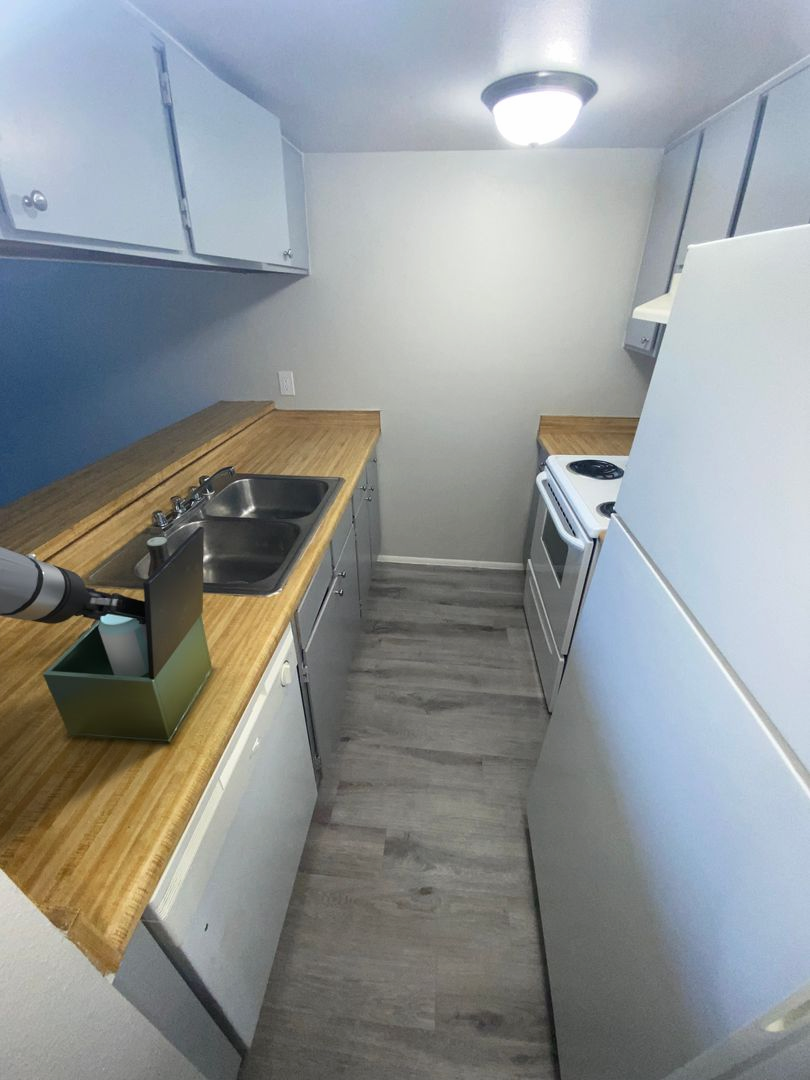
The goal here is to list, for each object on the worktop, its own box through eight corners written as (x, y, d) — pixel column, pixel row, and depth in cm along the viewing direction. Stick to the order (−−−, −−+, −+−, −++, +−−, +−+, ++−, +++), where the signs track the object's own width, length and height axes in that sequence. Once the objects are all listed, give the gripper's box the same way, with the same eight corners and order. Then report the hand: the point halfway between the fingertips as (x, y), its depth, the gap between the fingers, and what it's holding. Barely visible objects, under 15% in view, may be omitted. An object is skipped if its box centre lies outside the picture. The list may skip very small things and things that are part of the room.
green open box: (69, 736, 81) (42, 674, 74) (128, 664, 96) (110, 607, 90) (170, 743, 80) (152, 681, 73) (212, 670, 96) (201, 613, 89)
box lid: (143, 582, 65) (148, 583, 65) (199, 526, 80) (204, 527, 80) (148, 679, 73) (154, 680, 73) (198, 611, 89) (202, 612, 89)
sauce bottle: (154, 612, 112) (135, 538, 102) (181, 602, 115) (165, 530, 106) (163, 626, 107) (144, 550, 98) (191, 615, 111) (175, 541, 102)
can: (105, 673, 83) (85, 619, 77) (140, 649, 88) (124, 597, 83) (132, 687, 80) (115, 631, 75) (167, 661, 86) (153, 608, 80)
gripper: (125, 568, 62) (198, 598, 84) (-30, 559, 63) (83, 591, 85) (111, 625, 60) (190, 641, 82) (-49, 615, 61) (72, 633, 82)
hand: (136, 616), depth 83 cm, fingers open, 8 cm apart
